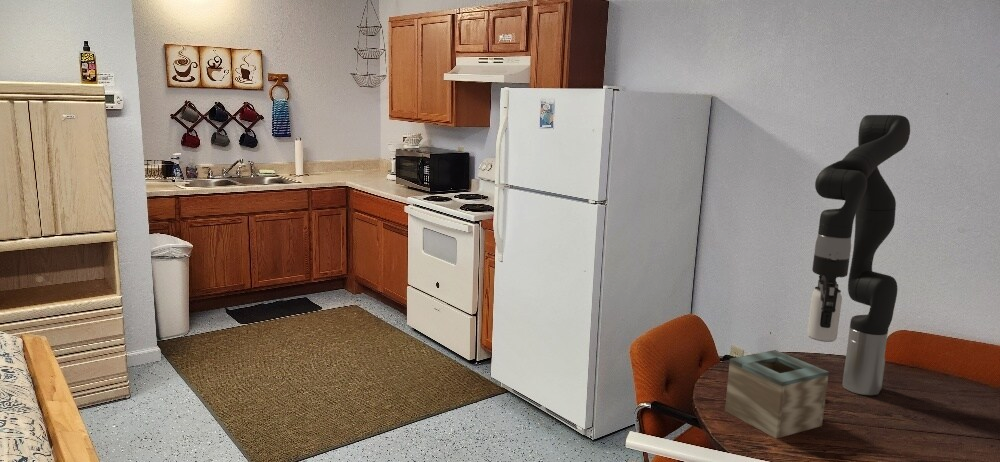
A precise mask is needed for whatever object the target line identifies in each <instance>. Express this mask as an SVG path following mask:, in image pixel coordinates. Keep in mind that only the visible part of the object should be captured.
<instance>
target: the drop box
mask: <svg viewBox="0 0 1000 462" xmlns="http://www.w3.org/2000/svg"><path fill="white" fill-rule="evenodd" d="M829 374H830V372H829V370H826V369H823V368H821V367H818V366H816V365H813V364H811V363H809V362H806V361H804V360H801V359H798V358H796V357H793V356H791V355H788V354H786V353H785V352H784V353H783V352H781V351H778V350H777V349H774V350H768V351H762V352H757V353H752V354H746V355H741V356H738V357H732V358H729V366H728V375H727V376H728V377H727V384H726V385H727V387H726V395H725V397H726V398H725V407H724V412H726V413H728V414H729V415H731V416H734V417H735V418H737V419H739V420H741V421H743V422H745V424H748V425H750V426H752V427H754V428H756V429H757V430H759V431H761V432H763V433H765V434H767V435H768V436H770V437H772V438H774V439H776V440H777V439H780V438H783V437H788V436H790V435H794V434H797V433H800V432H805V431H809V430H812V429H813V430H814V429H816V428H820V427H823V421H824V420H823V419H824V414H825V413H824V412H825V404H826V396H827V390H828V381H829Z"/></svg>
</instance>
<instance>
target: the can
mask: <svg viewBox="0 0 1000 462" xmlns="http://www.w3.org/2000/svg"><path fill="white" fill-rule="evenodd" d="M820 292H821V290H819V287H818V285H817V286H815V287H814V290H813V292H812V293H811V294H812V295H811V300H810V306H809V315H808V323H807V331H806V334H807V336H808V338H810V339H812V340H814V341H815V340H816V341H818V342H824V343H832V342H835V341H836V340H837V338H838V332H839V331H838V330H839V324H840V318H841V317H840V316H841V309H842V300H843V296H842V294H841V292H842V291H841V289H839V288H838V293H837V300H836V306H835V312H833V313H832V318H831V326H830V328H824V327H821V326H820V319H821V308H822V302H821V301H820ZM824 296H825V294H824V291H823V297H824ZM826 306H831V302H827V303H826Z"/></svg>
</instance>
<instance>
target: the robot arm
mask: <svg viewBox="0 0 1000 462" xmlns="http://www.w3.org/2000/svg"><path fill="white" fill-rule="evenodd" d="M910 134H911V124H910V121H909V119H908V118H907V117H906V116H904V115H900V114H899V115H898V114H868V115H865V116H863V117H862V119H861V121H860V123H859V128H858V135H857V137H858V138H857V139H858V140H857V141H858V142H857V146H856V147H854V148H853V149H851V150H850V151H849V152H848V153H847V154H846V155H845V156H844V157H843V158H842V159H841V160H838V161H836V162H834V163H831V164H830V165H827V166H825V167H824V168H823V169H822V170H820V172H819V173H818V175H817V177H816V178H815V184H814V188H815V191H816V193H817V194H818V195H819V197H821V198H824V199H829V200H837V201H838V200H839V201H844V204H843V206H841V207H840V208H829V209H824V210H823V211H821V213H820V216H819V224H818V232H817V237H816V240H815V247H814V253H813V261H812V272H813V273H814V274H816V275H818V280H817V286H818V287H819V290H821V292H820V301H821V302H822V308H821V319H820V326H821V327H824V328H830V326H831V318H832V313H833V312H835V306H836V300H837V293H838V289H839V283H838V282H837V279H838V278H844V277H845V278H846V277H847V276H848V280H847V281H848V282H847V293H848V296H849V297H850V299H851V300H852V301H854V302H855V303H859V304H862V305H866V306H869V310H868V311H869V312H868V314H857V315H854V316H852V317H851V319H850V324H849V330H848V331H849V332H848V339H847V347H846V353H845V363H844V368H843V376H842V388H844V389H845V390H847V391H849V392H851V393H854V394H856V395H857V394H858V395H864V396H875V395H879V394H880V391H882V388H883V380H884V372H885V364H886V357H885V354H886V348H887V341H888V333H889V327H890V325H891V323H892V320H893V317H894V311H895V305H896V301H897V295H898V283H897V280H896V279H895V278H894V277H893V276H891V275H889V274H885V273H881V272H876V271H873V261H874V256H875V253H876V252H877V250H878V248H879V247H880V246H881V245H882V244H883V242H884V241H885V240H886V238H888V236H889V235H890V233H891V232H892V231H893V228H894V226H895V221H896V211H897V210H896V209H897V201H896V198H895V195H894V194H893V193H894V192H893V191H892V190H891V189H890V186H889V185H888V183H887V182H886V181H885V178H884V177H883V175H882V173H881V172H880V169H879V166H880V165H881V164H883V163H884V162H886V161H887V160H889V159H890V158H892V157H893V156H894V155H896V154H897V153H899V152H901V151H902V150H903V149H904V148H905V147H906V146H907V144H908V142H909V139H910ZM854 221H855V222H854ZM854 223H855V225H854ZM853 226H854V241H853V251H852V236H853V235H852V234H853ZM851 251H852V258H850V257H851ZM850 259H851V263H850ZM849 264H850V265H849ZM849 266H850V268H849ZM848 272H849V275H848ZM823 291H824V294H825V296H824V297H823ZM827 302H831V306H826V303H827Z"/></svg>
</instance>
